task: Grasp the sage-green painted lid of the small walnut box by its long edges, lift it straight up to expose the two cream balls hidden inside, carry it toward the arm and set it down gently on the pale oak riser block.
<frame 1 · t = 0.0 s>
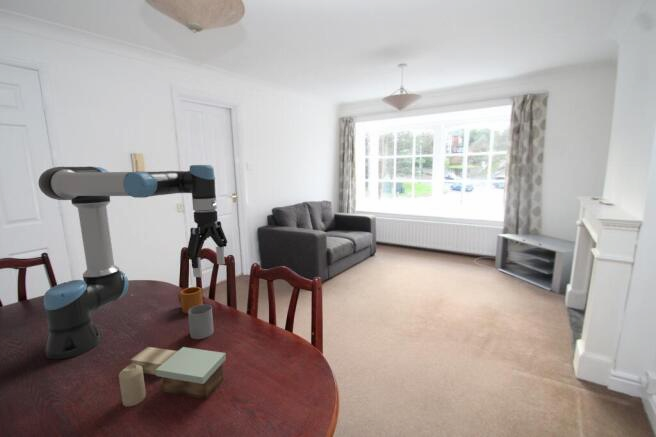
hand: (210, 270, 107), 28 cm above the table, fingers open, 13 cm apart
candle: (134, 399, 84), on the table
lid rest: (156, 366, 98), on the table
cup: (202, 333, 118), on the table
mug: (190, 308, 139), on the table
ball b: (202, 379, 88), point 3 cm above the table, touching walnut box
lid: (192, 367, 88), point 6 cm above the table, touching walnut box
walnut box: (194, 385, 89), on the table
ball a: (184, 376, 89), point 3 cm above the table, touching walnut box
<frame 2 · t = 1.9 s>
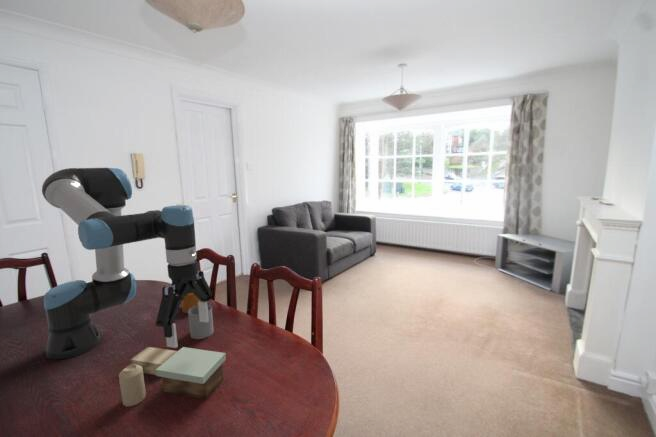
hand: (189, 333, 86), 17 cm above the table, fingers open, 13 cm apart
nothing on the table moved.
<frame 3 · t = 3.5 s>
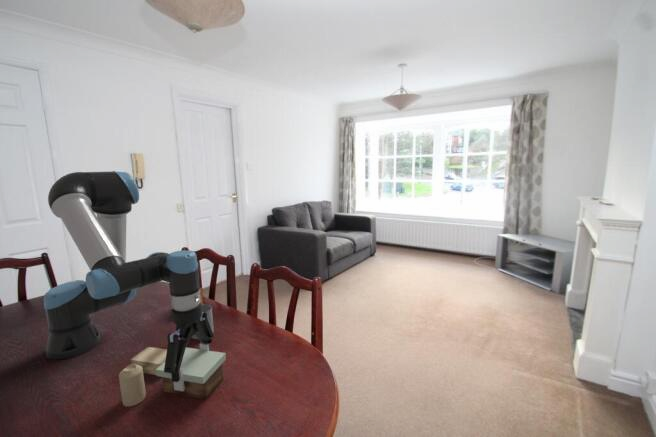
hand: (193, 375, 89), 3 cm above the table, fingers closed on lid, 11 cm apart
lid: (192, 367, 88), point 6 cm above the table, touching gripper, walnut box
everything else where it was.
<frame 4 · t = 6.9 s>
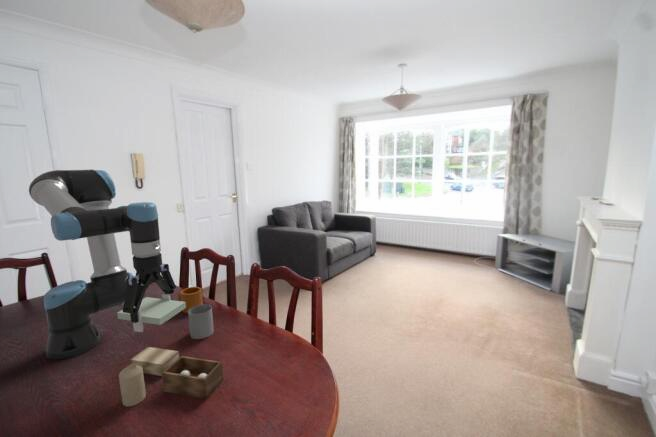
hand: (154, 321, 95), 16 cm above the table, fingers closed on lid, 11 cm apart
lid: (153, 313, 94), point 19 cm above the table, touching gripper
everything else where it was.
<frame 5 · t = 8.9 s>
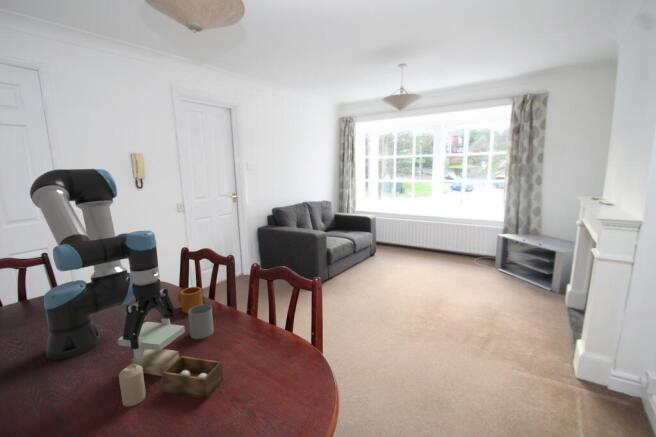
hand: (154, 346, 97), 7 cm above the table, fingers closed on lid, 11 cm apart
lid: (153, 338, 96), point 10 cm above the table, touching gripper
everything else where it was.
when the fingers open (2 cm above the table, at t = 10.5 s): lid stays where it is, resting on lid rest.
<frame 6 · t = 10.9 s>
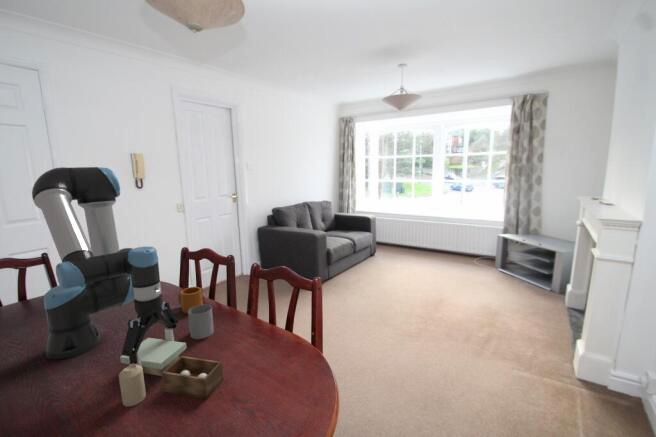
hand: (155, 358, 98), 3 cm above the table, fingers open, 13 cm apart
lid: (154, 355, 97), point 4 cm above the table, touching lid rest
everything else where it was.
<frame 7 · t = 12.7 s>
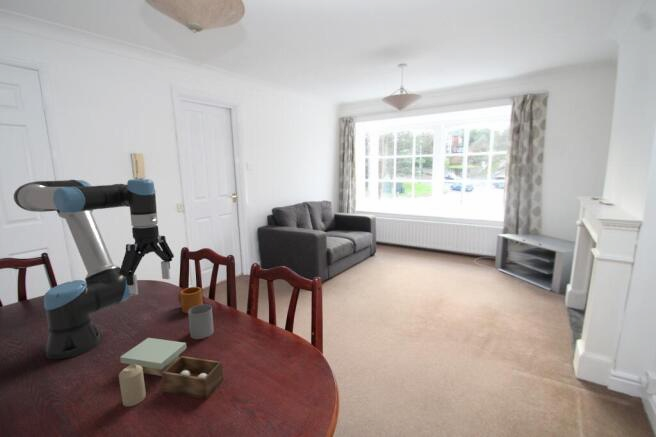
hand: (151, 285, 104), 24 cm above the table, fingers open, 13 cm apart
nothing on the table moved.
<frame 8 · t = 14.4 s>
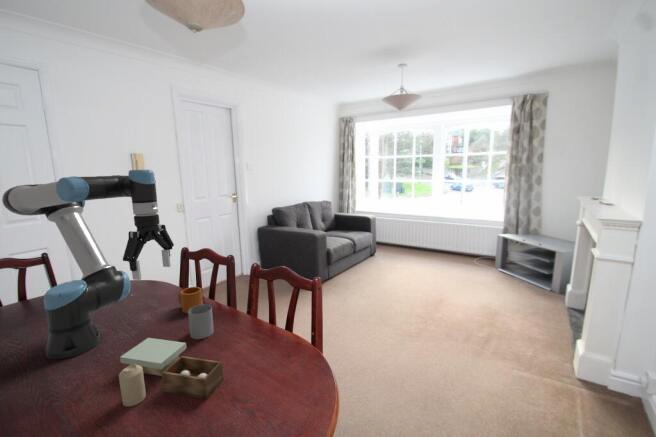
hand: (152, 272, 108), 27 cm above the table, fingers open, 13 cm apart
nothing on the table moved.
at the end: lid inside the target area (0.0 cm from its centre), point 4.0 cm above the table; lid touching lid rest; lid tilted 0° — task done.
